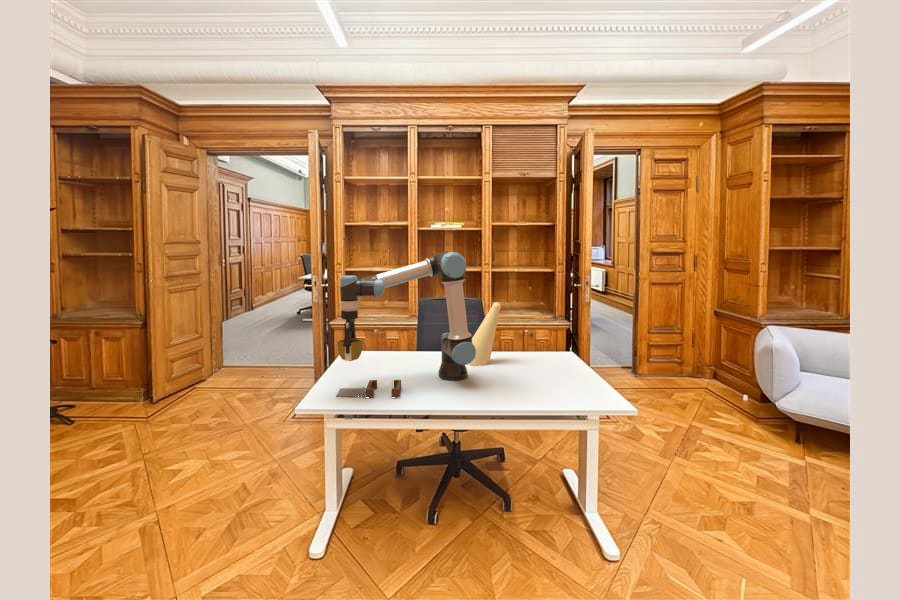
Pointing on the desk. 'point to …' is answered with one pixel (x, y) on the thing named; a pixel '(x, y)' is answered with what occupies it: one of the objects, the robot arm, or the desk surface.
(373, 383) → the pair of brown brackets
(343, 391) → the slate mat
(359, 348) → the flower pot
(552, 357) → the desk surface
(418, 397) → the desk surface
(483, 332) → the cone light
